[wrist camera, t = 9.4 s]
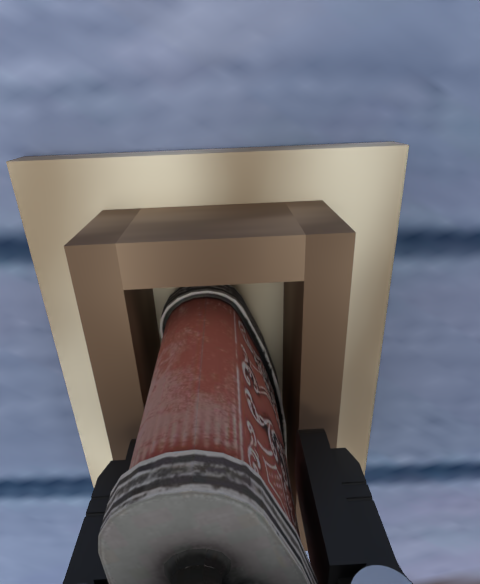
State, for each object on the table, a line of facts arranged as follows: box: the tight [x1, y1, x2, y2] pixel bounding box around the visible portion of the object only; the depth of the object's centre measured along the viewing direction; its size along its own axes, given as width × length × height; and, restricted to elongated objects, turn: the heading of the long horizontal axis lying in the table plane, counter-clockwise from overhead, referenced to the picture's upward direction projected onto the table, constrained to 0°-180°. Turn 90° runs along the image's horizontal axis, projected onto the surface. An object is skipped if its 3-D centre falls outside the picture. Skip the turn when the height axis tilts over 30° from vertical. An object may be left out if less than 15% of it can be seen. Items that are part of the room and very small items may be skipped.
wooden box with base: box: [6, 142, 409, 551], centre depth 14 cm, size 12×15×5 cm
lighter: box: [98, 285, 318, 584], centre depth 10 cm, size 8×3×10 cm, turn 15°
